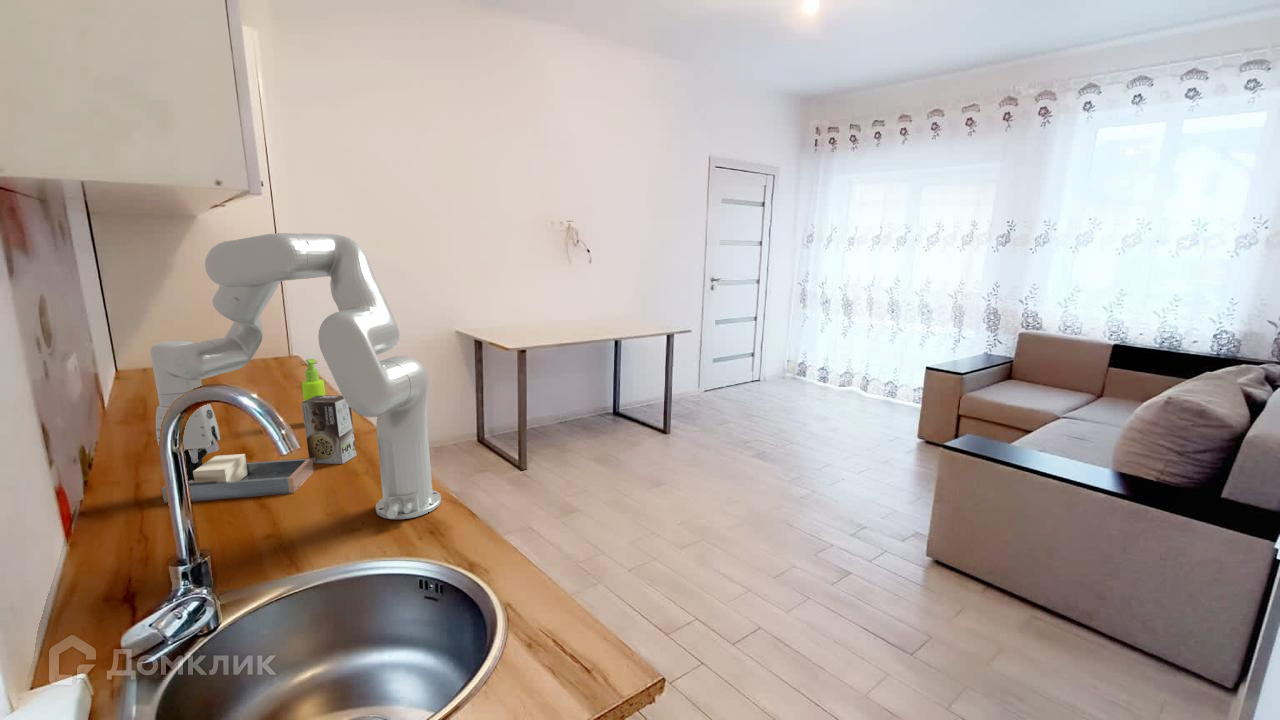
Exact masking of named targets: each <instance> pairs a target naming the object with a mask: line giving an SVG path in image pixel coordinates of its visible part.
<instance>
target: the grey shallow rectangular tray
mask: <svg viewBox="0 0 1280 720" xmlns="http://www.w3.org/2000/svg"><path fill="white" fill-rule="evenodd" d="M246 464H247V470H248V475H246V476H245V477H244V478H243V479H242V480H239V481H226V482H216V481H214V482H201V483H195V481H194V480H191V481H188V482H189V488H190V494H191V500H192V501H191V502H201V501H202V502H203V501H212V500H213V501H214V500H223V499H225V500H226V499H236V498H237V499H238V498H250V497H251V498H252V497H262V496H273V495H274V496H275V495H276V496H277V495H287V494H295V493H296V492H297V491H298V490H299V489H300V488H301V486H302V485H303V484H305V482H306V481H307V480H308V479H309V478H310V476H312V474H313V473H314V472H315V470H314V463H313V461H312V458H309V457H308V458H298V459H297V458H296V459H284V460H280V459H279V460H268V461H256V462H253V461H252V462H246ZM165 486H166V485H164V486H162V487H161V491H162V498H163V503H164V504H165V502H166V504H168V503H167V496H166V489H165Z"/></svg>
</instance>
